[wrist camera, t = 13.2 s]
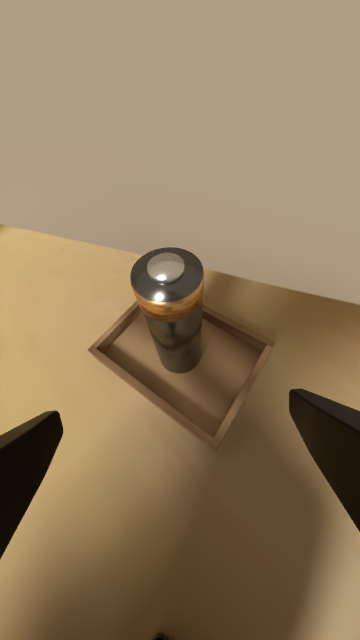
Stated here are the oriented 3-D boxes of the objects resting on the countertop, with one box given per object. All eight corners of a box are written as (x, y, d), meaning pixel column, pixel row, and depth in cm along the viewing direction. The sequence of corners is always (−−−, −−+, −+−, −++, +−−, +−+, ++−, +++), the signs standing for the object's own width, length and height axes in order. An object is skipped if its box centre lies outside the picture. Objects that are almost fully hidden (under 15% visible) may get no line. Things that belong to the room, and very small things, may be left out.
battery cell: (159, 375, 22) (124, 299, 12) (158, 336, 25) (129, 244, 14) (203, 371, 22) (209, 291, 12) (198, 333, 25) (199, 237, 14)
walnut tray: (214, 451, 19) (215, 450, 17) (95, 358, 24) (87, 349, 23) (269, 352, 23) (275, 342, 22) (159, 292, 29) (156, 281, 27)
